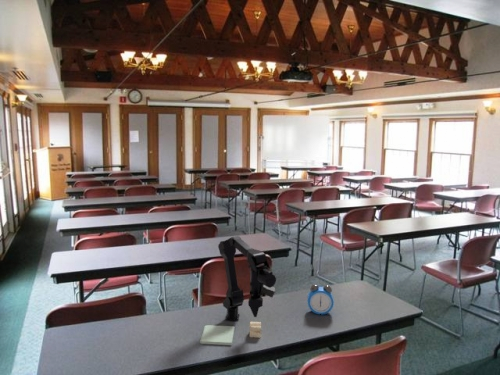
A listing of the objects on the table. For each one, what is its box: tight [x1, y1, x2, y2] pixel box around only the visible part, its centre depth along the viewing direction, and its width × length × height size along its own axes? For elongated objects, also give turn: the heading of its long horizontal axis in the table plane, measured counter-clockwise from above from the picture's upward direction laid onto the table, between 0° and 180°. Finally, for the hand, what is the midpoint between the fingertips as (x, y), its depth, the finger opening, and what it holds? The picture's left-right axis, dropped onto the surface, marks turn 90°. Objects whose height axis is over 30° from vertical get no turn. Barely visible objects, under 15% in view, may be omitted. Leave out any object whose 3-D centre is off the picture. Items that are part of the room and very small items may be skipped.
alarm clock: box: [307, 283, 335, 315], centre depth 199 cm, size 13×6×15 cm, turn 83°
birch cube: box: [249, 321, 262, 339], centre depth 177 cm, size 5×5×5 cm
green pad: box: [199, 324, 236, 346], centre depth 175 cm, size 14×14×1 cm
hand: (255, 312), depth 176 cm, fingers open, 9 cm apart
